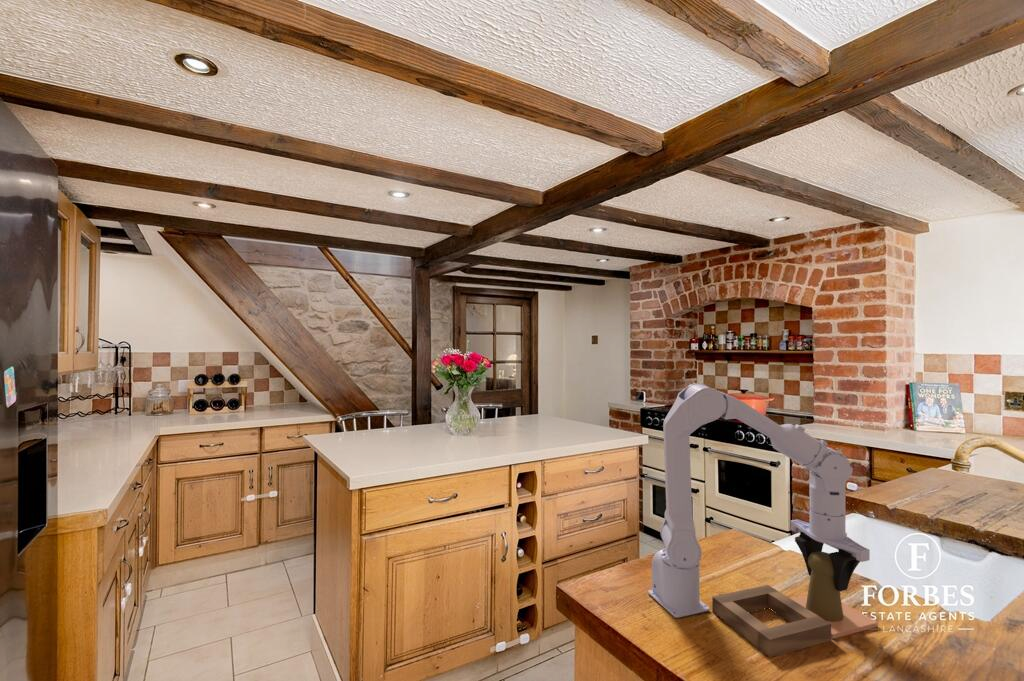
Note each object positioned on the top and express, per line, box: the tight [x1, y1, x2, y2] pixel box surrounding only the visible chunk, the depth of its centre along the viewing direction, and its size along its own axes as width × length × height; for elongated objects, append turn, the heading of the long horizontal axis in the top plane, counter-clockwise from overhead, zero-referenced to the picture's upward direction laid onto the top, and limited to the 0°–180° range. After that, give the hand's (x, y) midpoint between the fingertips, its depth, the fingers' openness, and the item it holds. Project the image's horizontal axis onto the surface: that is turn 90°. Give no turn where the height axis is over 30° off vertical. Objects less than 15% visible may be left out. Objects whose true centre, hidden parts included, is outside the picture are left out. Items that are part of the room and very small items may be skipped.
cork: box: [806, 551, 843, 622], centre depth 90 cm, size 6×6×11 cm
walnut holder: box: [711, 584, 832, 658], centre depth 88 cm, size 14×14×3 cm
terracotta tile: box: [790, 594, 879, 640], centre depth 91 cm, size 11×11×1 cm
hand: (827, 582), depth 90 cm, fingers closed on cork, 5 cm apart
